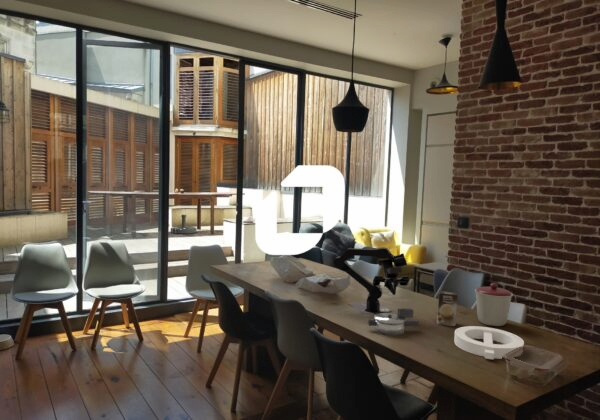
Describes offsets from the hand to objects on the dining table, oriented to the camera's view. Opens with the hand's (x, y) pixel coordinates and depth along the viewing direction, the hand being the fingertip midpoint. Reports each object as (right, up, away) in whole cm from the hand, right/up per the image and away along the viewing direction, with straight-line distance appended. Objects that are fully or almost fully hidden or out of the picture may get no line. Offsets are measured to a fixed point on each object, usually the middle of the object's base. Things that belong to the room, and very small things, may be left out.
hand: (394, 294), depth 228 cm
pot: (-4, -14, -17) cm, 22 cm away
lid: (-4, -9, -17) cm, 20 cm away
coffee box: (+26, -14, -3) cm, 30 cm away
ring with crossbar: (+34, -17, -34) cm, 51 cm away
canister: (+50, -15, 0) cm, 53 cm away
